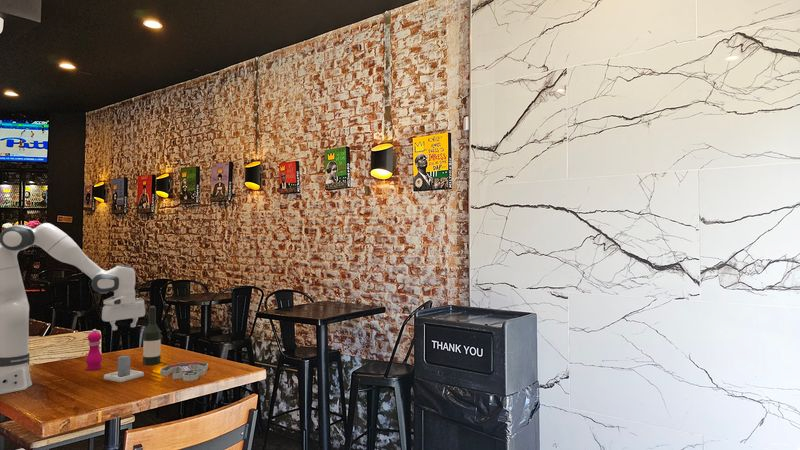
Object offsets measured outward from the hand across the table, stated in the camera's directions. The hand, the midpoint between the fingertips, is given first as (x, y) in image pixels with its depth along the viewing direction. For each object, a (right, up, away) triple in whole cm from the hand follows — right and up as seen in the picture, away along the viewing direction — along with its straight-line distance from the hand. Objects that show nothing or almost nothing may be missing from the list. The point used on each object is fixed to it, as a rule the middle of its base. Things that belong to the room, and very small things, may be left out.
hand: (124, 328), depth 250 cm
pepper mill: (-24, -24, +16) cm, 37 cm away
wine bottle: (0, -24, +28) cm, 36 cm away
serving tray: (0, -23, -1) cm, 23 cm away
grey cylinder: (0, -22, -1) cm, 22 cm away
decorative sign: (+27, -24, +7) cm, 37 cm away
